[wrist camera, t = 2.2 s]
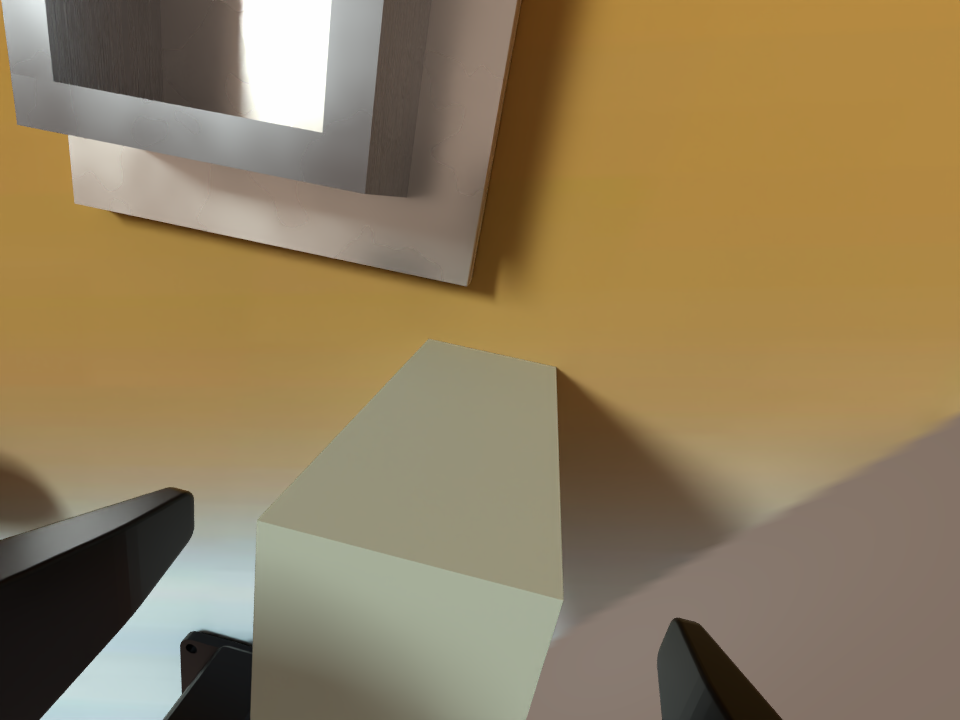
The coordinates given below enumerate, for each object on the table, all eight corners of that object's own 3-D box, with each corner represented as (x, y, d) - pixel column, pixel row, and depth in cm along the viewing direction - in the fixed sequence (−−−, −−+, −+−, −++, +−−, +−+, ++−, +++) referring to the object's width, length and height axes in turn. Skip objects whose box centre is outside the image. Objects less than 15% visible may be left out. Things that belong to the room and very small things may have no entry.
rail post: (527, 478, 16) (499, 803, 7) (411, 450, 16) (249, 729, 7) (555, 367, 14) (563, 599, 6) (428, 338, 15) (257, 520, 6)
